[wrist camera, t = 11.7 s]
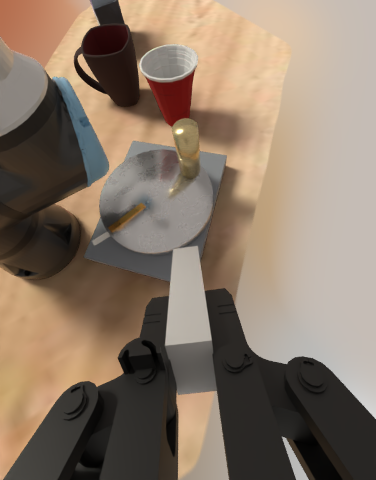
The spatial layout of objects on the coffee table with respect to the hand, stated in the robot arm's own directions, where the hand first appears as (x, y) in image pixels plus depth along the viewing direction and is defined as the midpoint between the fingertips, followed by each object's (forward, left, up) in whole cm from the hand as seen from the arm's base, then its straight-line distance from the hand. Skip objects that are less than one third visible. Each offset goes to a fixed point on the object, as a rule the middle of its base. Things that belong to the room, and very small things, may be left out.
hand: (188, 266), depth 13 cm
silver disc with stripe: (-16, +7, -21) cm, 27 cm away
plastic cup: (-30, +27, -24) cm, 47 cm away
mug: (-46, +23, -24) cm, 57 cm away
